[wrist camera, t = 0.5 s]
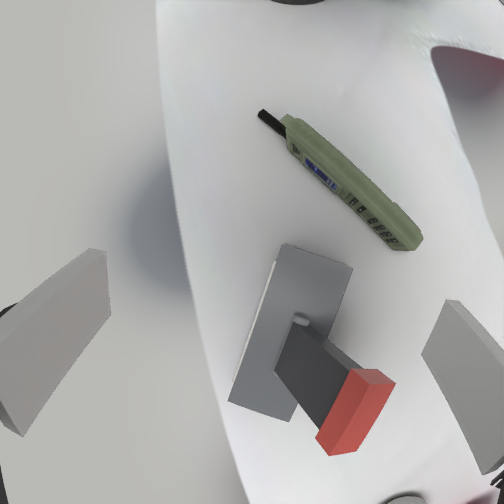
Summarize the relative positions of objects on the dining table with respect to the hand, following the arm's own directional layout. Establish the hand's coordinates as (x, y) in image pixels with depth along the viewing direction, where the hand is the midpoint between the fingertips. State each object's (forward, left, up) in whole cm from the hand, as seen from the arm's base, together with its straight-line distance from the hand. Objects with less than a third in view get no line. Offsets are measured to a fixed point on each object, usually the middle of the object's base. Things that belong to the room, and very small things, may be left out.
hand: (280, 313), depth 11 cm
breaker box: (+9, +2, -28) cm, 29 cm away
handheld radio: (-12, +1, -28) cm, 31 cm away
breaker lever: (+9, +2, -22) cm, 24 cm away
